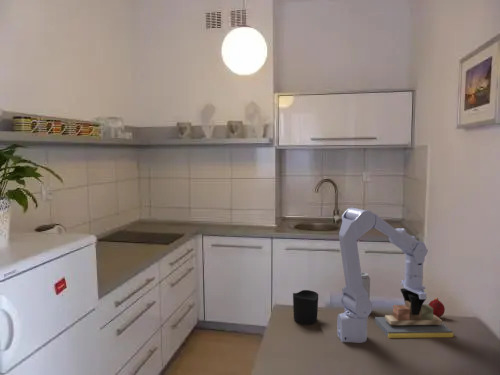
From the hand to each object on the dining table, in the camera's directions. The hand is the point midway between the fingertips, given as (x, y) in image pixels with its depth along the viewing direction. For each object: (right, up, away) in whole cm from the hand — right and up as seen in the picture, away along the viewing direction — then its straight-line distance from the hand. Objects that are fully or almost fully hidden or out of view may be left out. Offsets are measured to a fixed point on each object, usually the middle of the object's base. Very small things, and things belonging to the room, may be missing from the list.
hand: (412, 311), depth 131 cm
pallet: (0, -4, 0) cm, 4 cm away
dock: (0, -7, 0) cm, 7 cm away
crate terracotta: (-4, -2, 0) cm, 5 cm away
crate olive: (+4, -2, 0) cm, 5 cm away
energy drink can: (-13, -6, +18) cm, 23 cm away
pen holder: (-36, -6, +9) cm, 38 cm away
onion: (+14, -6, +11) cm, 19 cm away
